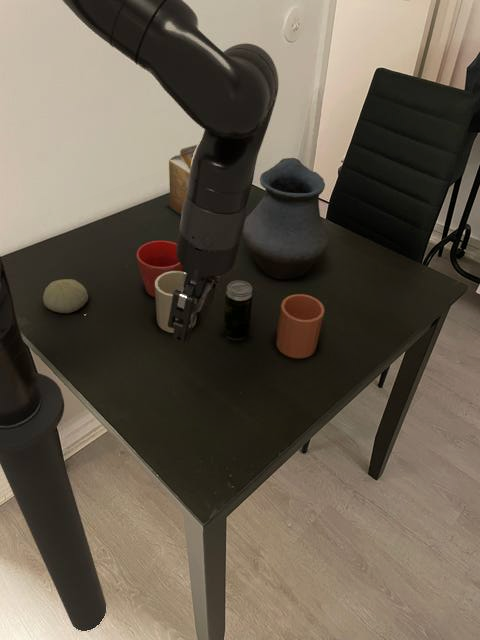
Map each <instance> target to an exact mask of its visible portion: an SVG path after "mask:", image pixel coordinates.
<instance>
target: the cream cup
mask: <svg viewBox="0 0 480 640" xmlns="http://www.w3.org/2000/svg"><path fill="white" fill-rule="evenodd" d="M184 272H185V271H183V272H182V271H170V272H166V273H163V274H162V275H160V276H158V278H157V279H156V281H155V296H156V297H155V309H156V322H157V325H158V327H159V328H160V329H161V330H162V331H165V332H167V333H170V334H173V333H174V329H173V328H170V327H168V321H169V315H170V310H171V304H172V298H173V293H174V292H175V290H176V289H177V290H179V291H180V288H181V285H182V281H181V280H182V277H183V274H184ZM195 304H198V301H197V299H196V298H195ZM197 317H198V313H197V314H196V316H195V319H194V324H193V326H192V329H193V328H194V327H195V325H196V324H197Z"/></svg>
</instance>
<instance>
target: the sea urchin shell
mask: <svg viewBox="0 0 480 640" xmlns="http://www.w3.org/2000/svg"><path fill="white" fill-rule="evenodd" d="M88 299H89V294H88V290H87V289H86V288H85V287H84V285H83V284H82V283H81V282H78V280H76V279H72V278H71V279H70V278H69V279H66V278H65V279H64V278H63V279H57V280H54V281H51V282H50V283H49V284H48V286H46V288H45V289H44V292H43V296H42V301H43V305H44V307H46V308H47V310H50V311H52V312H56V313H59V314H73V312H76V311H78V310H80V309H81V308H82V307H84V306H85V304H86V303H88Z"/></svg>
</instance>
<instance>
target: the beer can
mask: <svg viewBox="0 0 480 640" xmlns="http://www.w3.org/2000/svg"><path fill="white" fill-rule="evenodd" d="M253 295H254V291H253V287H252V285H251V284H250V283H249V282H247V281H245V280H233V281H231V282H229V283H228V284H227V287H226V289H225V299H224V300H225V302H224V314H223V315H224V317H223V332H224V335H225V336H226V338H228V339H229V340H232V341H242V340H244V339H246V337H248V335H249V333H250V326H251V325H250V324H251V315H252V304H253Z"/></svg>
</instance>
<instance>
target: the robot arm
mask: <svg viewBox="0 0 480 640" xmlns="http://www.w3.org/2000/svg"><path fill="white" fill-rule="evenodd" d="M61 1H62V2H63V4H64V5H65V6H66V7H67V8H68V9H69V10H70V12H71V13H72V14H73V15H74V16H75V17H76V18H77V19H78V20H79V21H80V22H81V23H82V24H83V25H84V26H85V27H86V28H88V29H89V31H91V32H92V33H93V34H94V35H96V37H98V38H99V39H101V40H102V41H103V42H105V43H106V44H108V45H109V47H111V48H113V49H114V50H115V51H117V52H118V53H119V54H121V55H122V56H124V57H125V58H126V59H128V60H130V62H132V63H133V64H135V65H136V66H138V67H139V68H140V69H142V70H144V71H145V72H147V73H148V74H149V75H151V76H152V77H153V78H154V80H155V81H156V82H157V83H158V84H159V85H160V87H161V88H162V89H163V91H165V93H166V94H167V95H168V96H169V97H170V98H171V99H172V100H173V101H174V102H175V103H176V104H177V105H178V107H180V108H181V110H182V111H183V112H184V113H185V114H186V115H187V116H188V117H189V118H191V120H192V121H194V123H196V124H197V125H198V126H199V127H201V128H202V129H203V133H202V136H201V138H200V140H199V142H198V143H197V144H198V146H197V147H196V149H195V152H194V155H193V158H192V162H191V168H190V174H189V181H188V188H187V194H186V197H185V200H184V204H183V208H182V214H180V221H179V229H178V235H177V243H176V244H177V249H176V255H177V259H178V261H179V262H180V264H181V265H182V266H183V267H184V271H183V272H184V274H183V277H182V280H181V281H182V285H181V288H180V291H179V290H177V289H176V290H175V292H174V293H173V298H172V304H171V310H170V315H169V321H168V327H170V328H173V329H174V333H172V338H173V340H174V341H177V342H179V343H181V344H183V345H187V344H189V341H190V340H191V335H192V330H193V328H192V326H193V324H194V319H195V316H196V314H197V315H198V313H199V312H201V311H202V310H203V309H204V305H205V306H211V305H212V303H213V302H214V301H213V300H214V296H215V291H216V288H217V286H218V285H219V284H220V280H221V277H222V276H223V275H225V274H226V273H228V272H230V271H231V270H232V269H233V267H234V265H235V263H236V258H237V255H238V252H239V251H238V250H239V247H240V243H241V241H242V237H243V234H242V232H243V228H244V224H245V219H246V218H247V208H248V202H249V197H250V194H251V189H252V186H253V181H254V177H255V171H256V165H257V160H258V157H259V153H260V150H261V147H262V145H263V142H264V139H265V136H266V134H267V131H268V127H269V125H270V122H271V118H272V115H273V111H274V108H275V106H276V105H275V104H276V101H277V97H278V94H279V84H280V83H279V82H280V81H279V73H278V70H277V66H276V64H275V62H274V60H273V58H272V57H271V55H270V54H269V53H268V52H267V51H266V50H265V49H263V48H262V47H260V46H259V45H256V44H253V43H247V42H246V43H239V44H234V45H232V46H230V47H228V48H226V49H225V50H224V51H223V50H222V49H221V48H219V47H218V46H217V45H215V43H213V42H212V41H211V40H210V38H208V37H207V36H206V35H205V34H204V32H203V33H202V31H201V30H200V29H199V19H198V16H197V14H196V12H195V11H194V10H193V9H192V8H191V7H190V6H189V5H188V4H187V2H185V1H184V0H61ZM195 298H196V299H197V304H195ZM21 332H22V331H21V329H20V326H19V323H18V318H17V315H16V308H15V302H14V298H13V293H12V291H11V287H10V284H9V280H8V276H7V273H6V269H5V266H4V262H3V259H2V256H1V255H0V429H11V428H16V427H19V426H21V425H24V424H25V423H27V422H29V421H30V420H31V419H33V418H34V417H35V416H36V415H37V413H38V412H39V410H40V408H41V404H42V399H41V395H40V393H39V390H38V387H37V384H36V381H37V382H38V380H37V378H36V377H35V375H34V373H33V372H34V371H33V369H32V368H33V367H32V365H31V361H30V358H29V355H28V352H27V349H26V346H25V343H24V340H23V336H22V333H21ZM35 379H36V381H35ZM38 384H39V382H38Z"/></svg>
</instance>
